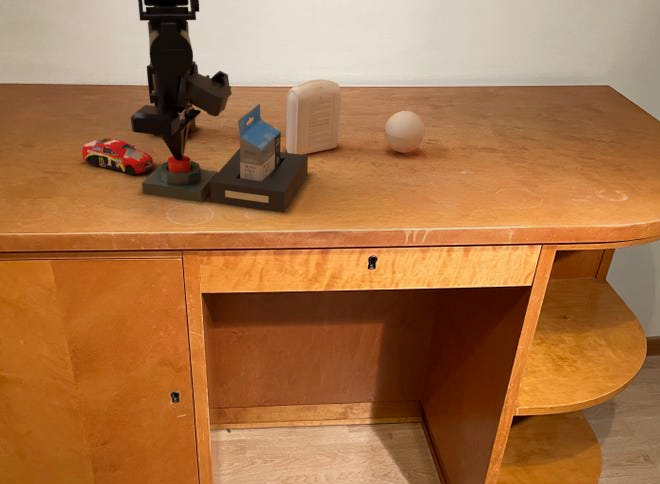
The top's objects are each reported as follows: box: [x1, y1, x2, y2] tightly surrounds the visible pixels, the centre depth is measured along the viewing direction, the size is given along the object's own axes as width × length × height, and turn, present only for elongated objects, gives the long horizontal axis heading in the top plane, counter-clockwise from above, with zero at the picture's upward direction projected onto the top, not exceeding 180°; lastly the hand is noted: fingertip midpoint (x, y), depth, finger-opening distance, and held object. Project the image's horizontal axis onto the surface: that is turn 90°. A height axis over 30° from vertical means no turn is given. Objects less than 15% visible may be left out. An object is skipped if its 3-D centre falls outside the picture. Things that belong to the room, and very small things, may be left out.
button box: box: [141, 160, 219, 203], centre depth 115 cm, size 10×8×4 cm
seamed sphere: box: [375, 110, 425, 154], centre depth 129 cm, size 10×7×7 cm
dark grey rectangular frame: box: [210, 147, 309, 213], centre depth 115 cm, size 12×15×4 cm
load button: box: [167, 155, 192, 173], centre depth 113 cm, size 4×4×2 cm
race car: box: [81, 138, 154, 177], centre depth 121 cm, size 13×5×4 cm, turn 63°
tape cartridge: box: [237, 103, 282, 183], centre depth 113 cm, size 9×4×12 cm, turn 161°
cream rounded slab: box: [285, 78, 342, 155], centre depth 127 cm, size 10×4×12 cm, turn 123°
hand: (179, 159), depth 113 cm, fingers closed
